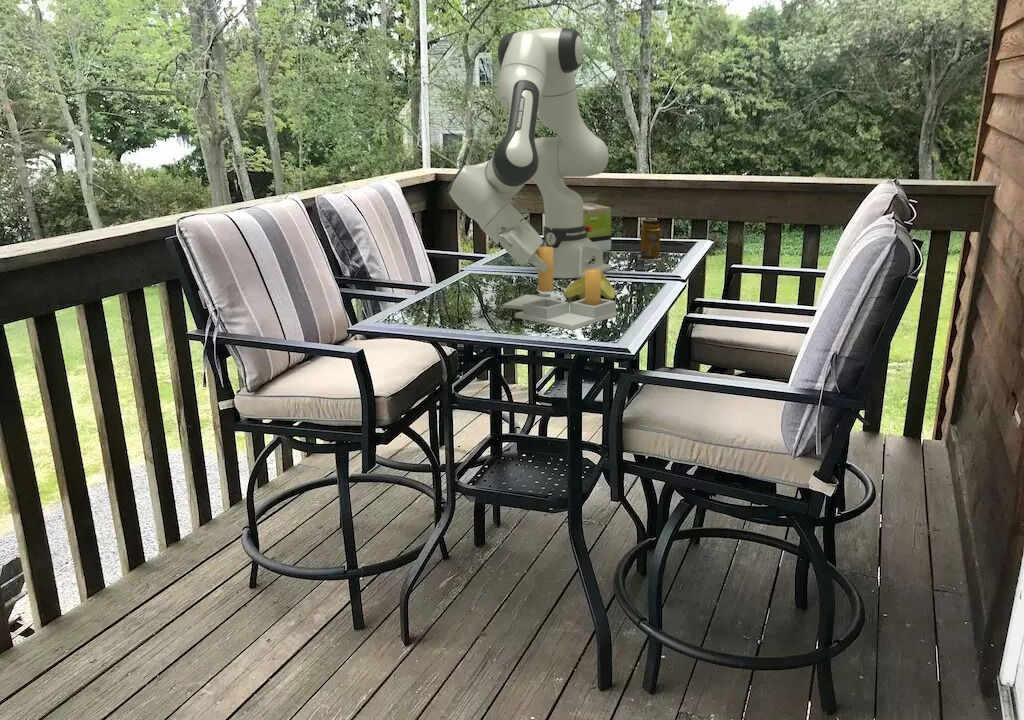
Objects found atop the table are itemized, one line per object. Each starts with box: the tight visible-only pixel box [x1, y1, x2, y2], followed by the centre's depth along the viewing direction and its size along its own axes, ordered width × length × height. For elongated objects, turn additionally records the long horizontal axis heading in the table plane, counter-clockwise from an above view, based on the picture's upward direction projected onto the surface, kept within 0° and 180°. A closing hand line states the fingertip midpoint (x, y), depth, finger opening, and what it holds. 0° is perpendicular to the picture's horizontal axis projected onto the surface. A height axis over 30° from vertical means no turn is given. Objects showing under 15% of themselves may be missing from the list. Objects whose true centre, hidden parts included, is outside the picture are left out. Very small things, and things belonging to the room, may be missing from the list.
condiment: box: [637, 218, 662, 261], centre depth 258 cm, size 7×8×12 cm
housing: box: [514, 269, 618, 331], centre depth 191 cm, size 16×18×11 cm
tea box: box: [583, 202, 612, 252], centre depth 278 cm, size 15×10×15 cm, turn 25°
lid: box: [501, 293, 561, 311], centre depth 206 cm, size 14×10×1 cm
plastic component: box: [563, 271, 617, 301], centre depth 207 cm, size 20×7×10 cm
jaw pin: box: [537, 245, 554, 293], centre depth 189 cm, size 4×4×10 cm
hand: (547, 267), depth 189 cm, fingers closed on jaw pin, 4 cm apart
